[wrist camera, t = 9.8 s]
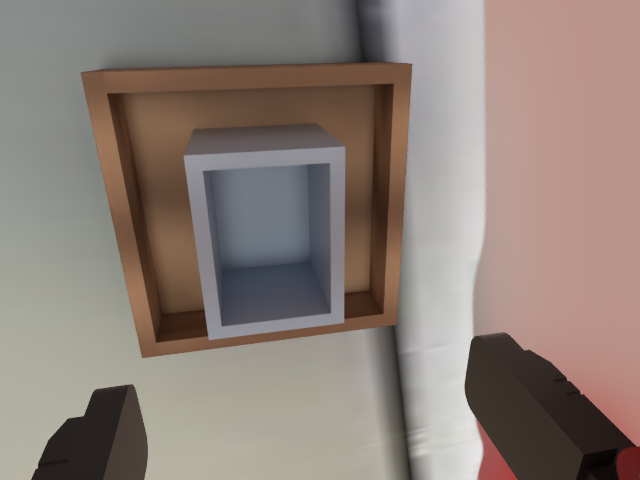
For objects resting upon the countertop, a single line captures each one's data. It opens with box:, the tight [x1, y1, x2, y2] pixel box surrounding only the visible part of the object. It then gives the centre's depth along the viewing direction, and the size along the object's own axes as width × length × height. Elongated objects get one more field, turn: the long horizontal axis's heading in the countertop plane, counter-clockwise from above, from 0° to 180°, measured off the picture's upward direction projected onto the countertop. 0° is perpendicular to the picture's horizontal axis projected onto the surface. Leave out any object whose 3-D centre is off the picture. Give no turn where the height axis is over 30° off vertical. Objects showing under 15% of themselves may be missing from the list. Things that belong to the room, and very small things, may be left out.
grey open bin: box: [184, 123, 345, 340], centre depth 21 cm, size 8×6×6 cm
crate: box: [81, 62, 412, 358], centre depth 23 cm, size 14×14×4 cm
